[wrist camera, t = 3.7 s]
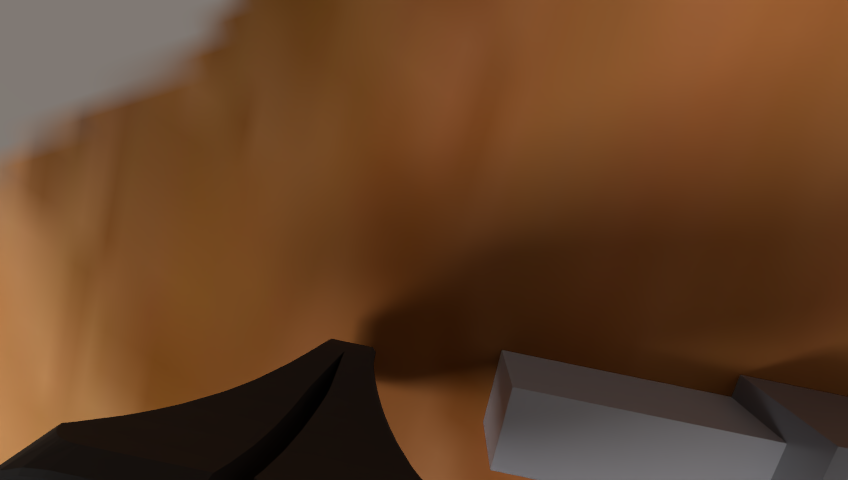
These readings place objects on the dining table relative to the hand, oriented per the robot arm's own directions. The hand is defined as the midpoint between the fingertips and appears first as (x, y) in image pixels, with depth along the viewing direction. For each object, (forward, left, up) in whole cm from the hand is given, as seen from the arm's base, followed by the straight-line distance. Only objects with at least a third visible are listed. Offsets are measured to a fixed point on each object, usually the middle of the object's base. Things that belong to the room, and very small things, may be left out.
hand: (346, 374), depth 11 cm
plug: (+10, -4, -1) cm, 10 cm away
